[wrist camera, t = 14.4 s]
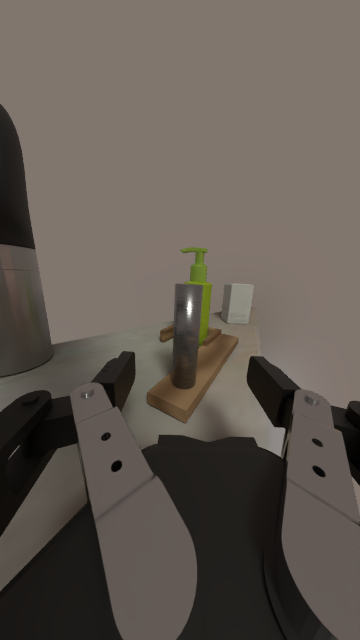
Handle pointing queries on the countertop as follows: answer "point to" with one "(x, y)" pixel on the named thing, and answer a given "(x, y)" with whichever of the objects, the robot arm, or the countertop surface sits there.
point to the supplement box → (237, 303)
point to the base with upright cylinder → (189, 356)
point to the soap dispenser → (199, 278)
